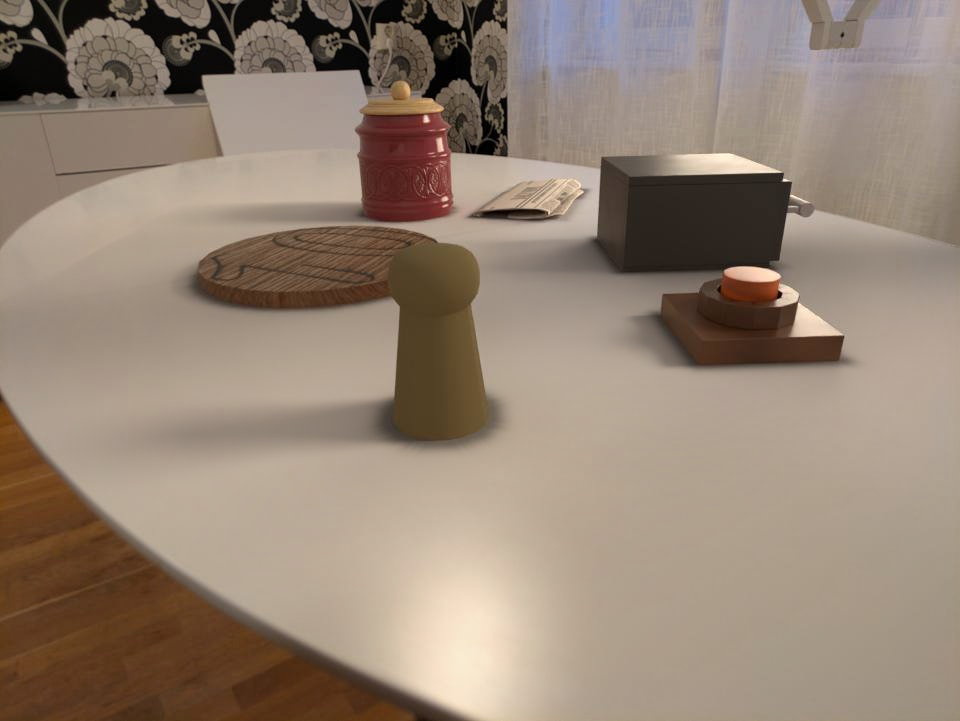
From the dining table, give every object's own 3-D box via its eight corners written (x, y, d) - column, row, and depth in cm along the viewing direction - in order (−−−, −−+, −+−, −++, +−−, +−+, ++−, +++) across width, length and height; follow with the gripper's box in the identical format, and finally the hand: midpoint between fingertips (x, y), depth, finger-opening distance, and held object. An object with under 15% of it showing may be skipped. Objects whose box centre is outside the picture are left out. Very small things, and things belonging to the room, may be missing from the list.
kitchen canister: (386, 229, 88) (374, 83, 81) (348, 212, 98) (335, 81, 91) (470, 216, 94) (467, 79, 87) (427, 201, 104) (420, 78, 97)
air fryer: (719, 238, 80) (730, 153, 76) (768, 272, 68) (784, 172, 64) (596, 241, 80) (601, 156, 76) (622, 276, 67) (629, 176, 63)
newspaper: (562, 224, 88) (561, 205, 87) (475, 228, 93) (473, 210, 92) (593, 191, 108) (592, 175, 107) (520, 196, 112) (518, 180, 111)
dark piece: (767, 230, 79) (778, 161, 76) (819, 259, 68) (835, 180, 65) (618, 234, 79) (622, 165, 76) (645, 264, 68) (652, 185, 64)
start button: (763, 287, 52) (767, 265, 52) (786, 304, 49) (790, 281, 48) (712, 288, 52) (715, 266, 52) (731, 306, 49) (734, 283, 48)
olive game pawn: (372, 423, 41) (354, 249, 37) (442, 389, 45) (434, 228, 41) (440, 458, 38) (430, 269, 33) (510, 418, 42) (509, 244, 37)
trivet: (373, 325, 57) (371, 303, 56) (143, 296, 65) (139, 277, 64) (477, 249, 78) (476, 233, 77) (294, 235, 86) (292, 220, 85)
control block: (777, 315, 57) (785, 270, 55) (838, 365, 48) (850, 312, 46) (659, 319, 56) (664, 273, 55) (698, 370, 47) (705, 317, 46)
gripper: (996, -183, 46) (946, 42, 51) (698, -169, 45) (681, 55, 51) (1074, -216, 40) (1008, 41, 46) (734, -201, 40) (710, 56, 45)
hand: (833, 49), depth 48 cm, fingers closed
